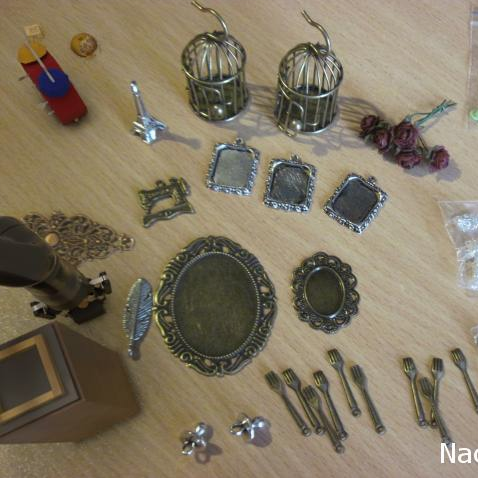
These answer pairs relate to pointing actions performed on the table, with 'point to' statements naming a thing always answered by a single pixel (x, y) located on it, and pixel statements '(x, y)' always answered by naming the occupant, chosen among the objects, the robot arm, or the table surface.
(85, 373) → the stand
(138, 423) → the table surface
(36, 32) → the alphabet block
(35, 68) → the red and blue toy
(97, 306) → the dark brown block
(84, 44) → the fruit
